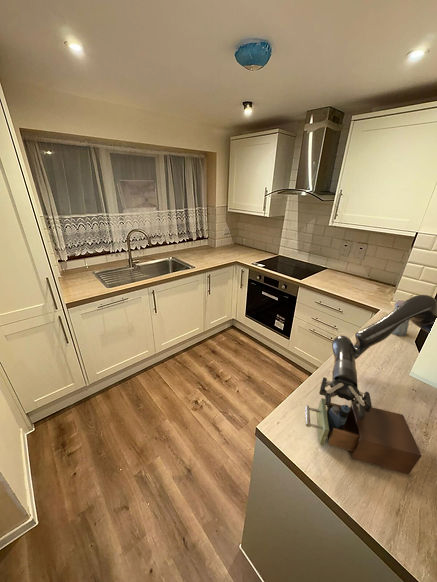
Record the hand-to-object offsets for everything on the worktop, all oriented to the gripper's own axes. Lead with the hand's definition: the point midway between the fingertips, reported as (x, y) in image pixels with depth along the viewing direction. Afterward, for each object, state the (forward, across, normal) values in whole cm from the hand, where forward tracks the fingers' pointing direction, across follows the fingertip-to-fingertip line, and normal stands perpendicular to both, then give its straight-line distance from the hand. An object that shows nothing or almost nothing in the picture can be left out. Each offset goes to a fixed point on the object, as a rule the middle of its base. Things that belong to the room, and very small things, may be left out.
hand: (344, 411), depth 69 cm
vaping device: (-2, -1, +11) cm, 11 cm away
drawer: (-2, -1, +12) cm, 12 cm away
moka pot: (-83, +29, +13) cm, 89 cm away
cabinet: (-4, +11, +13) cm, 18 cm away
